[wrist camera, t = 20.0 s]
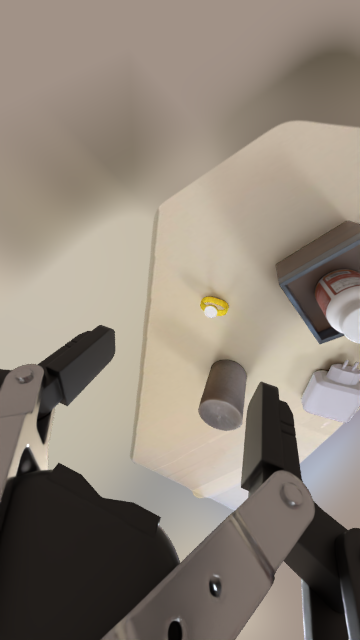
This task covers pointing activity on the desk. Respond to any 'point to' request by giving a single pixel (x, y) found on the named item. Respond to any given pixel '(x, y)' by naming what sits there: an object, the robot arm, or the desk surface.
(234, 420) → the pillar candle
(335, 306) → the pill bottle
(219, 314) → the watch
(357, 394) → the charger
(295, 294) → the cube pen cup
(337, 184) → the desk surface
